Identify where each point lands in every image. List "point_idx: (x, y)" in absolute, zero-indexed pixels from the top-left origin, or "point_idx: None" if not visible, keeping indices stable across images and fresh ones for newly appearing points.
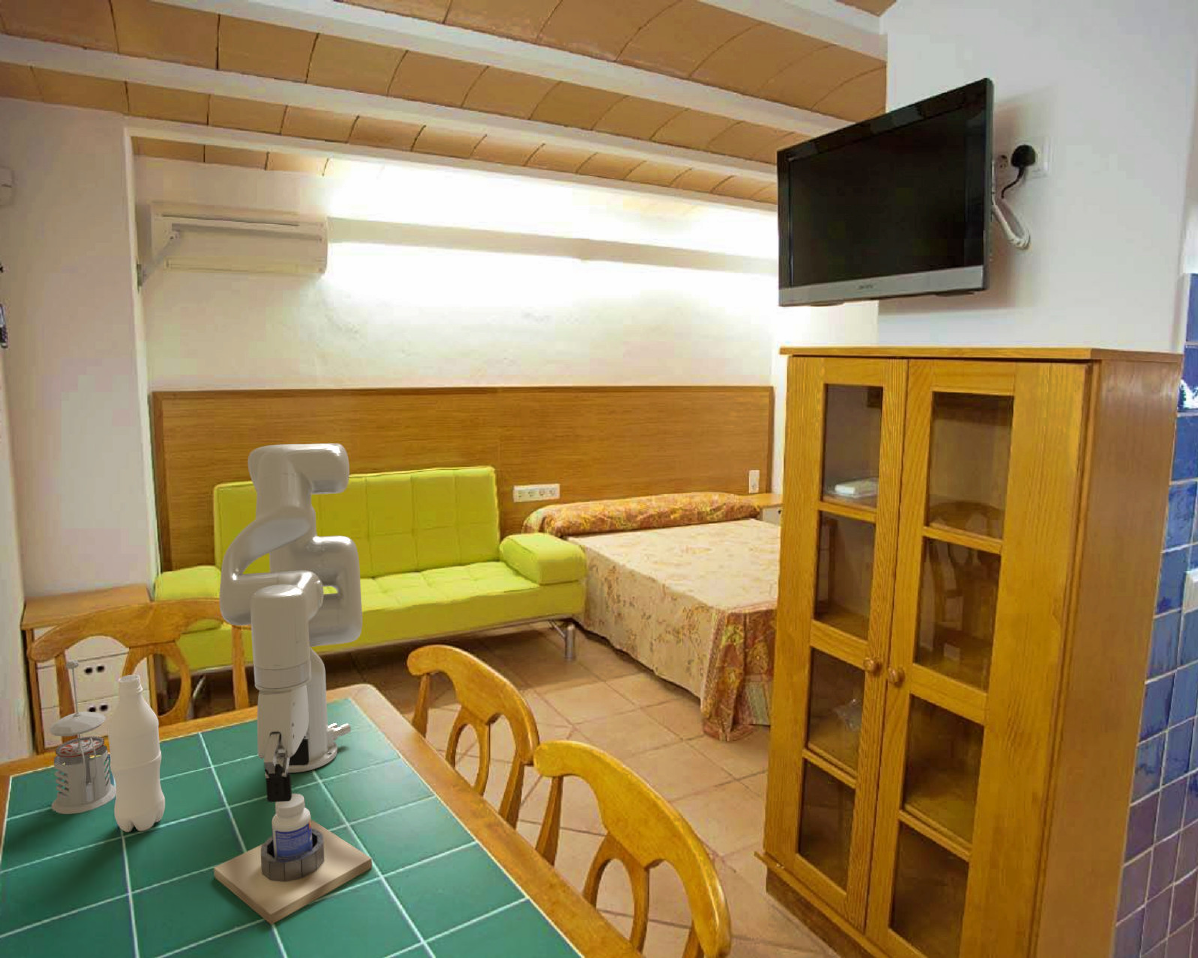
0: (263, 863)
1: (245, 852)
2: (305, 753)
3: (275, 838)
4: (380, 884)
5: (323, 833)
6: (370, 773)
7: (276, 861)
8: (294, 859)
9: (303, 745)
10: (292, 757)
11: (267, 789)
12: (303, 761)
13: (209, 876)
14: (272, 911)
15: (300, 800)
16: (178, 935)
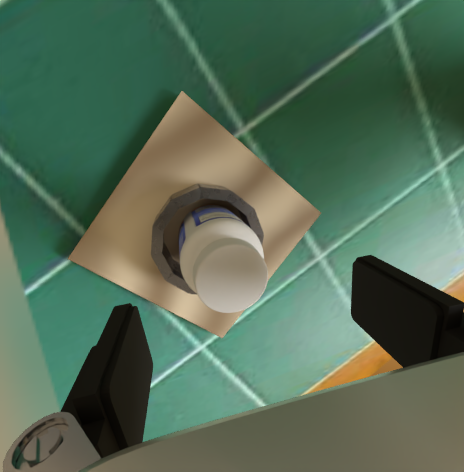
0: (166, 204)
1: (230, 134)
2: (380, 343)
3: (186, 232)
4: (184, 352)
5: (283, 246)
6: (444, 236)
7: (152, 240)
8: (163, 269)
9: (411, 363)
10: (373, 291)
11: (102, 338)
12: (358, 315)
13: (182, 84)
14: (75, 258)
15: (233, 307)
16: (10, 106)
